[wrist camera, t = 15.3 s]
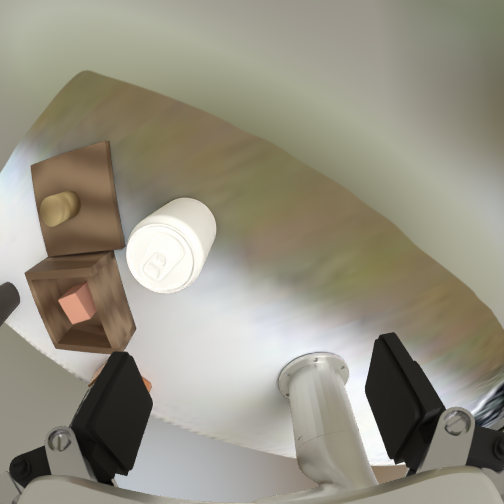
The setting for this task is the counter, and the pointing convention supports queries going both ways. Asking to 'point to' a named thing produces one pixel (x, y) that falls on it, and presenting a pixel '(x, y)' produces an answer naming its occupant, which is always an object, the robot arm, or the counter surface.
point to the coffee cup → (8, 300)
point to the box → (104, 295)
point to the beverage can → (171, 245)
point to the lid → (78, 201)
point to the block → (78, 303)
